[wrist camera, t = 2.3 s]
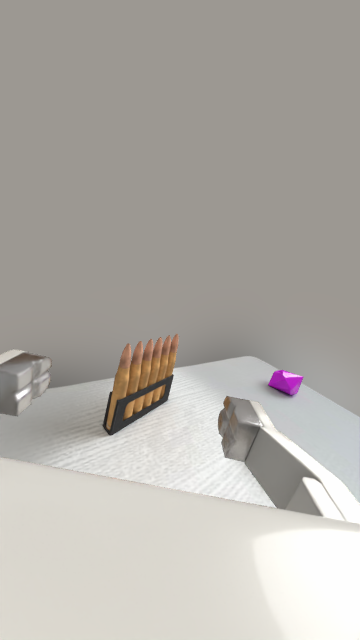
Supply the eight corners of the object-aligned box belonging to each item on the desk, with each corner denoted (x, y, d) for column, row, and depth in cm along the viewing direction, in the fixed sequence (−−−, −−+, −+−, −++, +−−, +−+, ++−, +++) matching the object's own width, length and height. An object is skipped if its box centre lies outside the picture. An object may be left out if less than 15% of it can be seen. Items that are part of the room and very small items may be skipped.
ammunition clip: (110, 436, 22) (126, 348, 19) (102, 425, 23) (116, 341, 20) (167, 400, 31) (185, 335, 28) (160, 394, 32) (176, 330, 29)
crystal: (277, 381, 48) (284, 365, 47) (298, 395, 43) (306, 378, 42) (266, 383, 45) (273, 367, 44) (287, 399, 41) (295, 381, 39)
